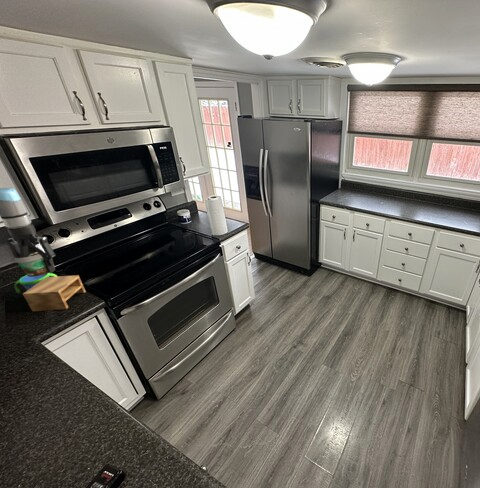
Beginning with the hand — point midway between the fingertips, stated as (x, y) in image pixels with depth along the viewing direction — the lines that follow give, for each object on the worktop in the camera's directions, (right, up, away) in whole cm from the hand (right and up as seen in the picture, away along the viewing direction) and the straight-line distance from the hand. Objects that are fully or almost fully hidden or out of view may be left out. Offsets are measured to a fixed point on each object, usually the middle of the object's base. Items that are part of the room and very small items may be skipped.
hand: (43, 271), depth 121 cm
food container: (+1, 0, 0) cm, 1 cm away
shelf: (-1, -15, +9) cm, 18 cm away
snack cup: (-15, -13, +14) cm, 24 cm away
